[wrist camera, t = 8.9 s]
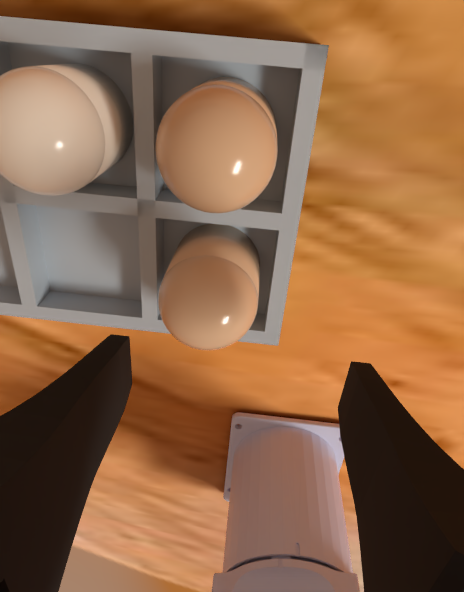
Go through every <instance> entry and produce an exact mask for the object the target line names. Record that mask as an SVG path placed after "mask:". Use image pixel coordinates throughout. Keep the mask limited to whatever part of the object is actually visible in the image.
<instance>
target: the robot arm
mask: <svg viewBox="0 0 464 592" xmlns="http://www.w3.org/2000/svg"><path fill="white" fill-rule="evenodd" d="M131 386H132V371H131V356H130V340H129V336H120V335H110V336H108V337H107V338H106V339H105V340H104V341H102V342H101V343H100V344H99V345H98V346H97V347H96V348H94V349H93V350H92V351H91V352H90V353H89V354H87V355H86V356H85V357H84V358H83V359H82V360H80V361H79V362H78V363H77V364H75V365H74V366H73V367H72V368H71V369H69V370H68V371H67V372H66V373H64V374H63V375H62V376H61V377H59V378H58V379H57V380H55V381H54V382H53V383H51V384H50V385H49V386H47V387H46V388H44V389H43V390H42V391H40V392H39V393H37V394H36V395H35V396H33V397H32V398H30V399H28V400H27V401H25V402H24V403H22V404H20V405H19V406H17V407H16V408H14V409H12V410H10V411H9V412H7V413H5V414H3V415H1V416H0V592H58V591H59V587H60V584H61V580H62V577H63V573H64V570H65V567H66V563H67V560H68V556H69V553H70V550H71V546H72V543H73V540H74V537H75V534H76V531H77V527H78V524H79V521H80V518H81V515H82V512H83V509H84V506H85V503H86V500H87V497H88V494H89V491H90V488H91V485H92V482H93V480H94V477H95V475H96V472H97V470H98V468H99V466H100V463H101V461H102V459H103V457H104V455H105V452H106V450H107V448H108V446H109V444H110V441H111V439H112V437H113V435H114V433H115V430H116V428H117V426H118V423H119V421H120V419H121V417H122V414H123V412H124V409H125V406H126V403H127V400H128V396H129V393H130V390H131ZM338 414H339V424H336V423H327V422H318V421H310V420H301V419H293V418H284V417H276V416H267V415H258V414H250V413H241V412H237V413H234V414H233V416H232V422H231V432H230V441H229V450H228V459H227V469H226V478H225V487H224V496H223V497H224V499H225V500H226V501H229V510H228V520H227V531H226V542H225V552H224V563H223V573H215V574H214V577H213V586H212V592H360V590H359V583H358V577H357V574H355V573H353V570H352V563H351V556H350V550H349V543H348V537H347V530H346V523H345V517H344V510H343V503H342V497H341V490H340V483H339V477H338V474H339V471H340V468H341V465H342V462H343V459H344V457H345V462H346V466H347V471H348V475H349V480H350V485H351V489H352V494H353V499H354V504H355V509H356V515H357V523H358V532H359V541H360V550H361V561H362V572H363V582H364V592H464V469H463V468H461V467H460V466H459V465H458V464H457V463H456V462H455V461H454V460H453V459H452V458H451V457H450V456H449V455H448V454H446V453H445V452H444V451H443V450H442V449H441V448H440V447H439V446H438V445H437V444H436V443H435V442H434V441H433V440H432V439H431V438H430V436H429V435H428V434H427V433H426V432H425V431H424V430H423V429H422V428H421V427H420V425H419V424H418V423H417V422H416V421H415V420H414V419H413V417H412V416H411V415H410V414H409V413H408V411H407V410H406V409H405V408H404V407H403V405H402V404H401V403H400V402H399V400H398V399H397V398H396V397H395V395H394V394H393V393H392V391H391V390H390V389H389V387H388V386H387V385H386V383H385V382H384V381H383V379H382V378H381V377H380V375H379V374H378V373H377V371H376V370H375V369H374V368H373V366H372V365H371V364H370V363H361V362H352V361H351V364H350V368H349V371H348V375H347V378H346V381H345V385H344V388H343V392H342V395H341V399H340V402H339V406H338ZM237 424H240V425H237Z"/></svg>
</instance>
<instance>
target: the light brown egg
mask: <svg viewBox="0 0 464 592" xmlns="http://www.w3.org/2000/svg"><path fill="white" fill-rule="evenodd" d="M132 135H133V119H132V114H131V110H130V107H129V104H128V102H127V100H126V98H125V96H124V94H123V92H122V91H121V90H120V88H119V87H118V86H117V85H116V83H115V82H114V81H113V80H112V79H111V78H109V77H108V76H107V75H106V74H104V73H103V72H101V71H100V70H98V69H96V68H94V67H91V66H88V65H84V64H76V63H72V64H56V65H41V66H27V67H20V68H16V69H12V70H10V71H8V72H5V73H4V74H2V75H1V76H0V174H1V175H2V176H3V177H4V178H5V179H7V180H8V181H9V182H10V183H12V184H14V185H15V186H17V187H19V188H21V189H23V190H26V191H29V192H32V193H35V194H40V195H49V196H56V195H63V194H68V193H72V192H74V191H77V190H79V189H81V188H82V187H84V186H86V185H87V184H88V183H90V182H91V181H93V180H94V179H95V178H97V177H98V176H100V175H101V174H102V173H104V172H105V171H106V170H108V169H109V168H111V167H112V166H113V165H115V164H116V163H117V162H119V161H120V160H121V159H122V158H123V156H124V155H125V154H126V152H127V150H128V148H129V146H130V143H131V140H132Z"/></svg>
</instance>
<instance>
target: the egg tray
mask: <svg viewBox="0 0 464 592" xmlns="http://www.w3.org/2000/svg"><path fill="white" fill-rule="evenodd" d="M328 47H329V45H319V44H308V43H297V42H285V41H274V40H263V39H252V38H241V37H229V36H218V35H207V34H196V33H185V32H173V31H162V30H151V29H140V28H129V27H117V26H106V25H95V24H84V23H73V22H61V21H50V20H39V19H28V18H17V17H5V16H0V76H1V75H2V74H4V73H5V72H8V71H10V70H12V69H16V68H20V67H27V66H41V65H56V64H72V63H76V64H84V65H88V66H91V67H94V68H96V69H98V70H100V71H101V72H103V73H104V74H106V75H107V76H108V77H109V78H111V79H112V80H113V81H114V82H115V83H116V85H117V86H118V87H119V88H120V90H121V91H122V92H123V94H124V96H125V98H126V100H127V102H128V104H129V107H130V110H131V114H132V119H133V135H132V140H131V143H130V146H129V148H128V150H127V152H126V154H125V155H124V156H123V158H122V159H121V160H120V161H119V162H117V163H116V164H115V165H113V166H112V167H111V168H109V169H108V170H106V171H105V172H104V173H102V174H101V175H100V176H98V177H97V178H95V179H94V180H93V181H91V182H90V183H88V184H87V185H86V186H84V187H82V188H81V189H79V190H77V191H74V192H72V193H68V194H63V195H56V196H49V195H40V194H35V193H32V192H29V191H26V190H23V189H21V188H19V187H17V186H15V185H14V184H12V183H10V182H9V181H8V180H7V179H5V178H4V177H3V176H2V175H1V174H0V315H8V316H17V317H26V318H35V319H44V320H53V321H62V322H71V323H80V324H89V325H98V326H107V327H116V328H124V329H133V330H142V331H151V332H160V333H169V334H171V333H170V332H169V331H168V329H167V328H166V326H165V325H164V323H163V321H162V318H161V315H160V311H159V305H158V297H159V289H160V286H161V283H162V280H163V278H164V276H165V273H166V271H167V269H168V267H169V265H170V262H171V260H172V258H173V256H174V254H175V251H176V249H177V247H178V245H179V243H180V241H181V240H182V239H183V237H184V236H185V235H186V234H187V233H188V232H190V231H191V230H193V229H194V228H196V227H199V226H201V225H205V224H220V225H229V226H232V227H235V228H237V229H239V230H240V231H242V232H243V233H245V234H246V235H247V236H248V237H249V238H250V239H251V240H252V242H253V243H254V245H255V246H256V248H257V251H258V253H259V257H260V278H259V297H258V309H257V314H256V317H255V319H254V322H253V324H252V325H251V327H250V329H249V330H248V331H247V332H246V334H245V335H244V336H243V337H242V338H241V339H239V340H238V341H241V342H250V343H259V344H268V345H277V346H278V344H279V338H280V332H281V326H282V320H283V314H284V308H285V302H286V296H287V290H288V284H289V278H290V272H291V266H292V261H293V255H294V249H295V243H296V237H297V231H298V225H299V219H300V213H301V207H302V201H303V195H304V189H305V183H306V177H307V171H308V165H309V160H310V154H311V148H312V142H313V136H314V130H315V124H316V118H317V112H318V106H319V100H320V94H321V88H322V82H323V76H324V70H325V64H326V58H327V53H328ZM217 77H233V78H238V79H241V80H244V81H246V82H248V83H250V84H252V85H253V86H255V87H256V88H257V89H258V90H259V91H260V92H261V93H262V94H263V95H264V96H265V97H266V99H267V100H268V102H269V103H270V105H271V107H272V109H273V112H274V115H275V119H276V125H277V146H278V152H277V161H276V166H275V169H274V172H273V175H272V177H271V180H270V182H269V183H268V185H267V186H266V188H265V189H264V191H263V192H262V193H261V194H260V195H259V196H258V197H257V198H256V199H255V200H254V201H252V202H251V203H249V204H248V205H246V206H244V207H243V208H241V209H238V210H235V211H231V212H227V213H208V212H203V211H199V210H196V209H194V208H192V207H190V206H188V205H186V204H185V203H183V202H182V201H181V200H179V199H178V198H177V197H176V196H175V195H174V194H173V193H172V192H171V190H170V189H169V188H168V186H167V185H166V183H165V182H164V180H163V178H162V176H161V173H160V171H159V168H158V164H157V159H156V138H157V132H158V129H159V125H160V123H161V121H162V118H163V116H164V115H165V113H166V112H167V110H168V109H169V108H170V106H171V105H172V104H173V103H174V102H175V101H176V100H177V99H178V98H179V97H180V96H182V95H183V94H185V93H186V92H188V91H190V90H191V89H193V88H195V87H196V86H198V85H200V84H201V83H203V82H205V81H207V80H210V79H213V78H217Z"/></svg>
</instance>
